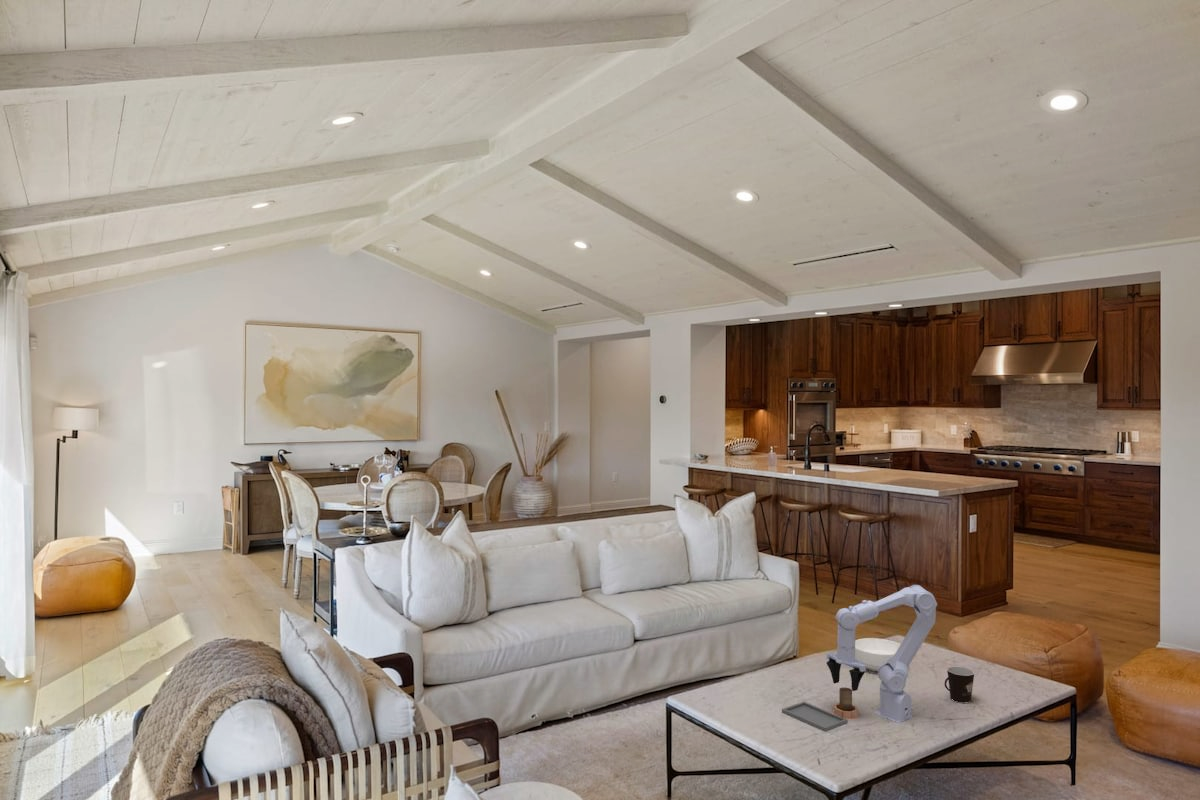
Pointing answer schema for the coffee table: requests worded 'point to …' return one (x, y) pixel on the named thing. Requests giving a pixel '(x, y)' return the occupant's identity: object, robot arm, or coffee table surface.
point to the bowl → (874, 651)
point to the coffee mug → (960, 683)
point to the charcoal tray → (814, 716)
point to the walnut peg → (845, 699)
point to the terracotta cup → (846, 712)
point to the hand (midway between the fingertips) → (845, 686)
